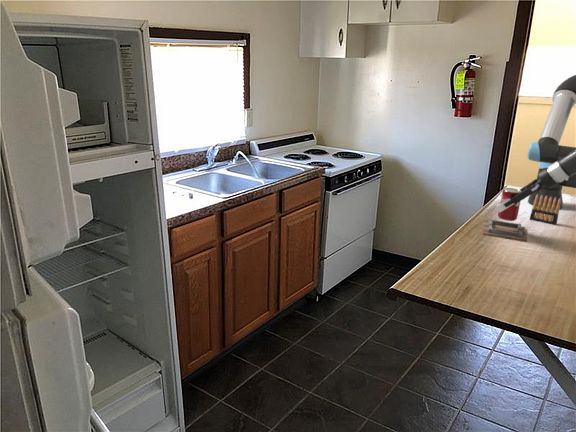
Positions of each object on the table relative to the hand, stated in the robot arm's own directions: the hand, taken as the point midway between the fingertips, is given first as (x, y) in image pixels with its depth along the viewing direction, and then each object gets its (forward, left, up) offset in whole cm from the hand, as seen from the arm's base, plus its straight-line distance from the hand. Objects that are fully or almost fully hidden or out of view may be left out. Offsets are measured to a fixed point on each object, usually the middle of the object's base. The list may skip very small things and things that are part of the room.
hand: (499, 207), depth 195 cm
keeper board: (0, +3, -10) cm, 11 cm away
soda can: (+1, +3, -4) cm, 6 cm away
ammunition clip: (-22, +19, -10) cm, 31 cm away
